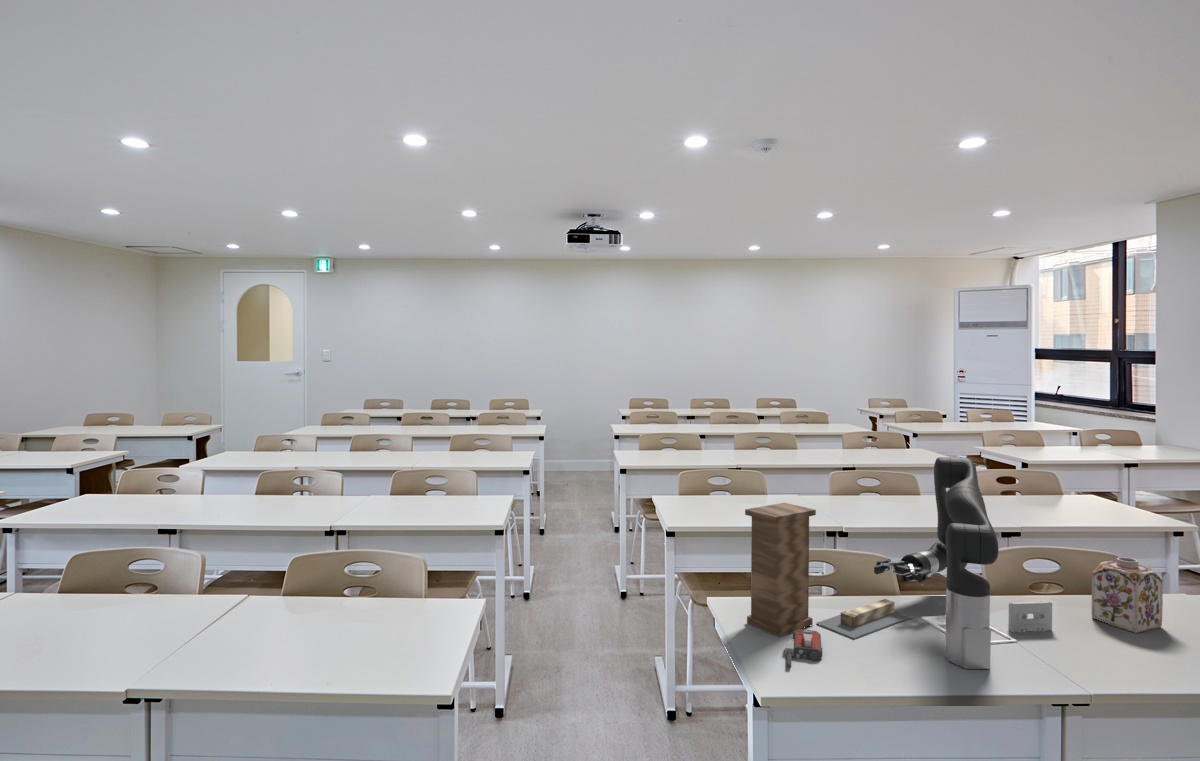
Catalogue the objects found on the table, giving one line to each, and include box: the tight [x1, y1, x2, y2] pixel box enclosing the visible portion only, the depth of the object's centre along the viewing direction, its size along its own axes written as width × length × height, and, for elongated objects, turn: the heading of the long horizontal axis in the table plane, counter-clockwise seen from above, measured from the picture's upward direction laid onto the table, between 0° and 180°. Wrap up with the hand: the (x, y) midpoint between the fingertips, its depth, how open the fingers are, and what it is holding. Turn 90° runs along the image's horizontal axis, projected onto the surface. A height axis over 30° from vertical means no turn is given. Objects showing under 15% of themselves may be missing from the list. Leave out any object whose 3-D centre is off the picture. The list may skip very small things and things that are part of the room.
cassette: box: [1007, 601, 1053, 633], centre depth 175 cm, size 12×2×8 cm, turn 94°
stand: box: [744, 502, 817, 638], centre depth 179 cm, size 16×11×32 cm
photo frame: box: [920, 614, 1018, 645], centre depth 175 cm, size 15×1×18 cm
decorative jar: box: [1091, 556, 1164, 634], centre depth 180 cm, size 12×12×18 cm
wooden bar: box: [840, 598, 895, 628], centre depth 182 cm, size 20×4×3 cm, turn 123°
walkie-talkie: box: [784, 628, 823, 668], centre depth 160 cm, size 9×4×20 cm
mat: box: [816, 610, 911, 640], centre depth 181 cm, size 26×12×1 cm, turn 123°
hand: (888, 574), depth 187 cm, fingers open, 8 cm apart
